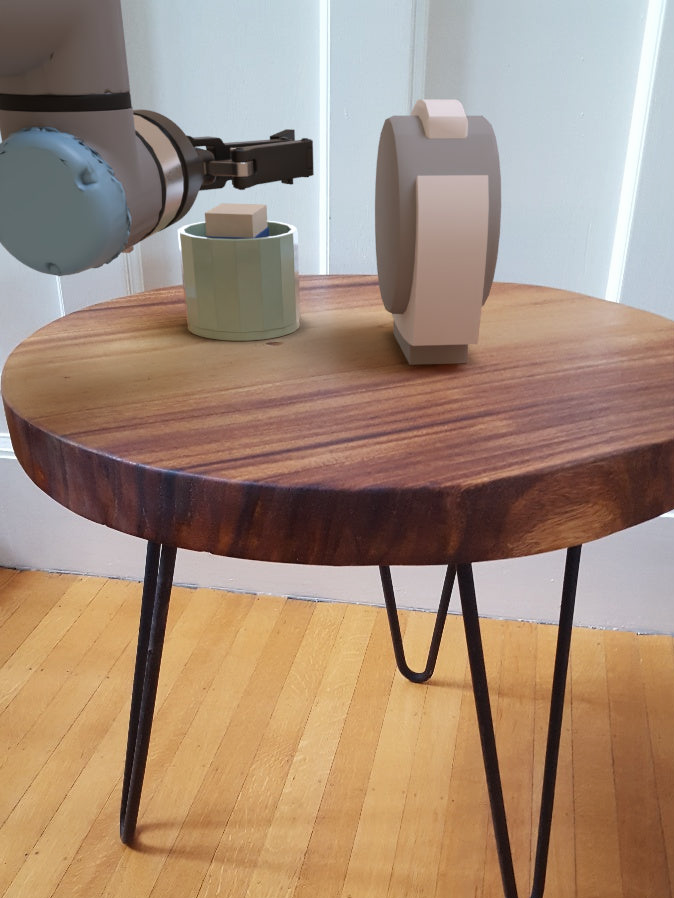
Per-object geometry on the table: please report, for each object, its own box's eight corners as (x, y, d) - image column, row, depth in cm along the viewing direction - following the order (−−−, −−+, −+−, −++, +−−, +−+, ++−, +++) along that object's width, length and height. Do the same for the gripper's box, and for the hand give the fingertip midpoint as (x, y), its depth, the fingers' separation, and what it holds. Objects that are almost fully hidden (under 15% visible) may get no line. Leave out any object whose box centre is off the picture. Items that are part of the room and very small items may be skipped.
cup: (173, 338, 92) (162, 237, 87) (205, 310, 101) (197, 217, 96) (287, 343, 91) (283, 241, 86) (308, 314, 100) (306, 221, 95)
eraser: (212, 324, 93) (203, 212, 88) (228, 309, 99) (220, 203, 93) (259, 326, 93) (252, 214, 87) (272, 311, 98) (267, 204, 93)
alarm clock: (493, 375, 83) (514, 107, 72) (396, 377, 82) (402, 106, 71) (453, 322, 98) (466, 93, 87) (371, 324, 97) (373, 93, 86)
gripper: (-30, 230, 68) (81, 189, 86) (314, 241, 66) (356, 197, 83) (-55, 109, 64) (67, 92, 82) (311, 116, 62) (356, 97, 79)
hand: (213, 145), depth 83 cm, fingers open, 13 cm apart
